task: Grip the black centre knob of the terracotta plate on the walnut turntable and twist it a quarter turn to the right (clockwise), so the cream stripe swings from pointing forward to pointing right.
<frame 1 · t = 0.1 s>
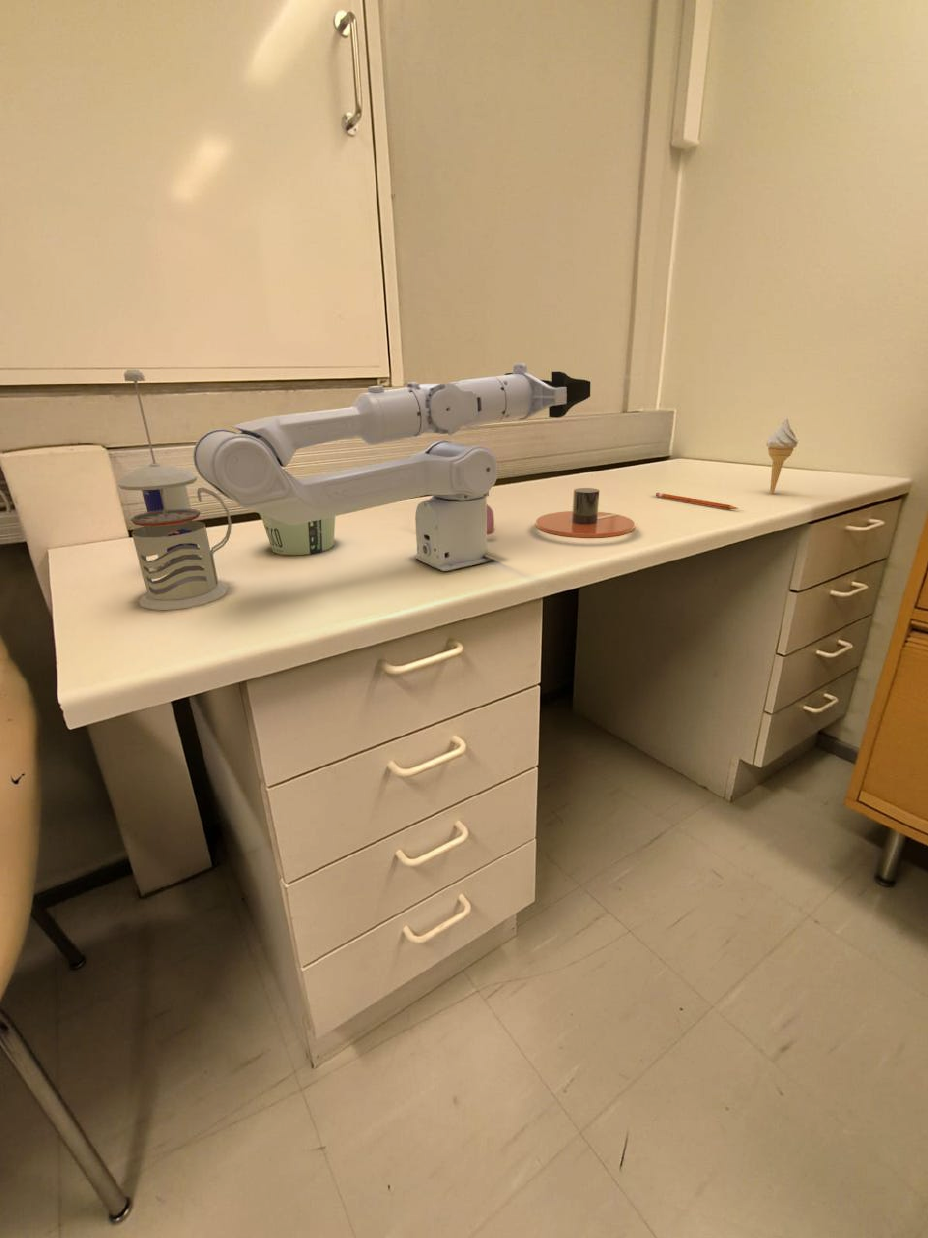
hand: (569, 388, 81), 22 cm above the table, tool horizontal, fingers open, 7 cm apart
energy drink: (182, 565, 80), on the table
ice cream cone: (771, 494, 117), on the table
video game controller: (463, 537, 91), on the table
pencil: (695, 503, 109), on the table
food container: (303, 547, 87), on the table
french press: (193, 595, 69), on the table
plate: (585, 507, 90), point 4 cm above the table, hinge at 0.0°
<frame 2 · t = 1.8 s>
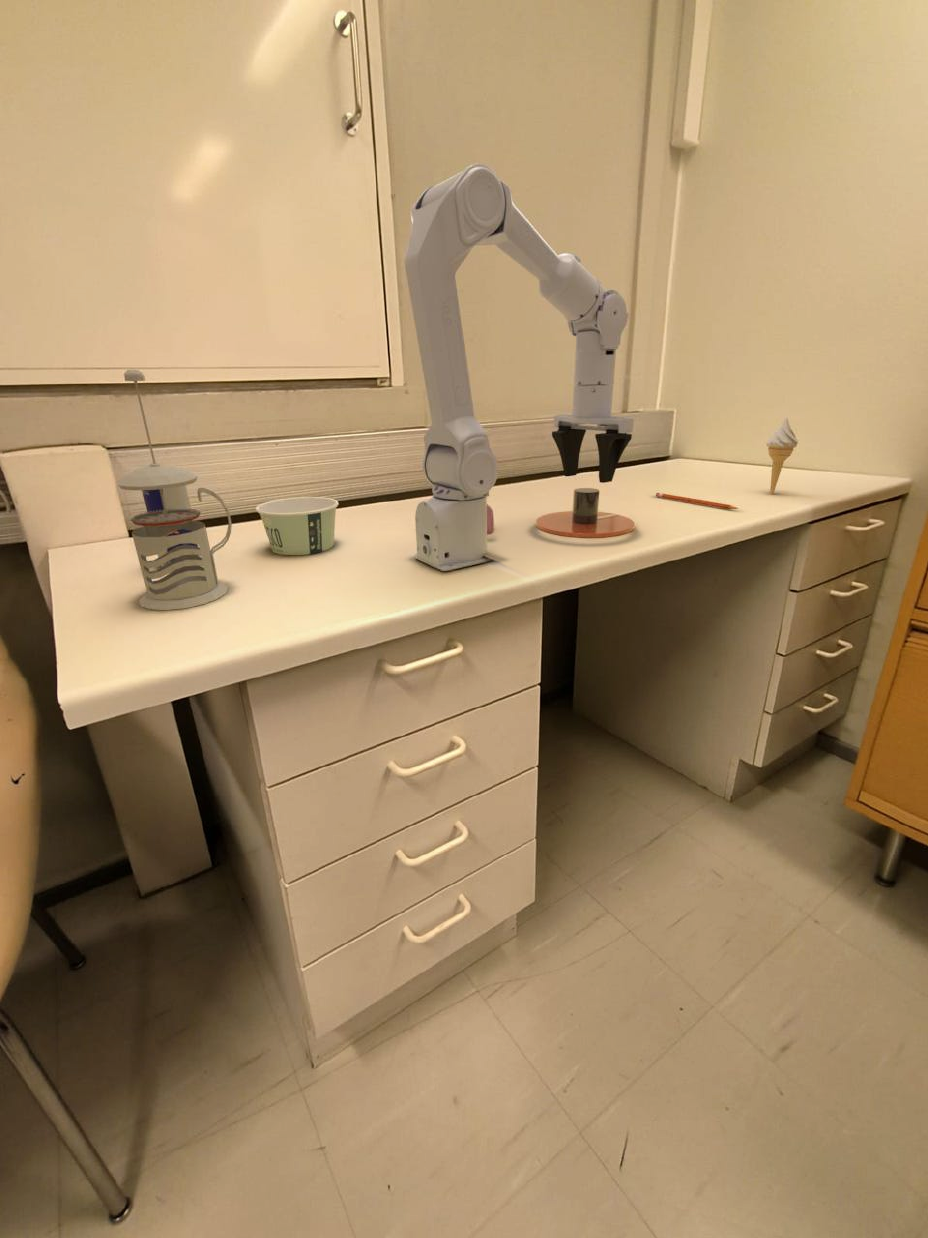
hand: (587, 478, 88), 8 cm above the table, tool pointing down, fingers open, 7 cm apart
nothing on the table moved.
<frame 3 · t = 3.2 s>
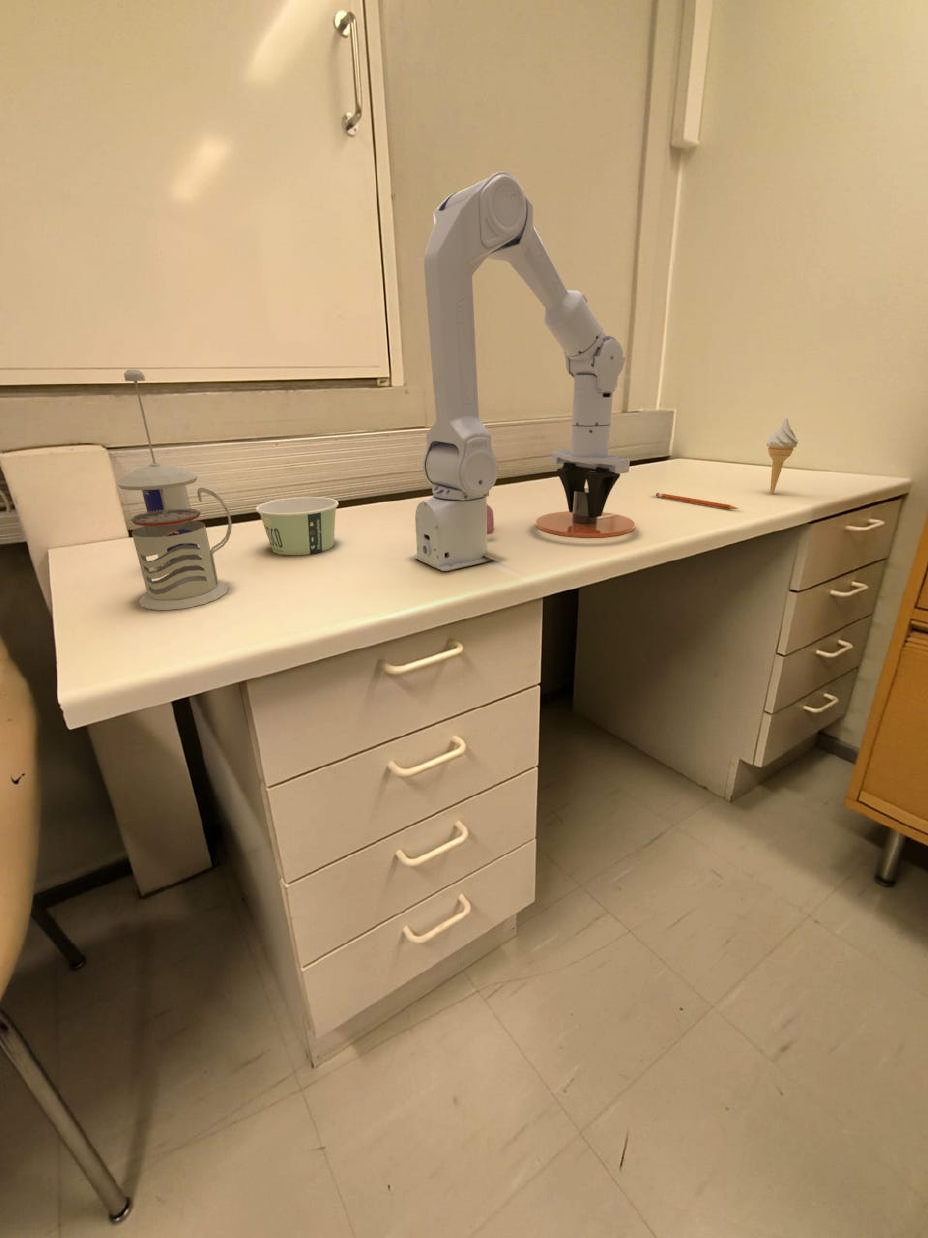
hand: (585, 514, 91), 3 cm above the table, tool pointing down, fingers closed on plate, 4 cm apart
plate: (585, 507, 90), point 4 cm above the table, hinge at 0.0°, touching gripper
everything else where it was.
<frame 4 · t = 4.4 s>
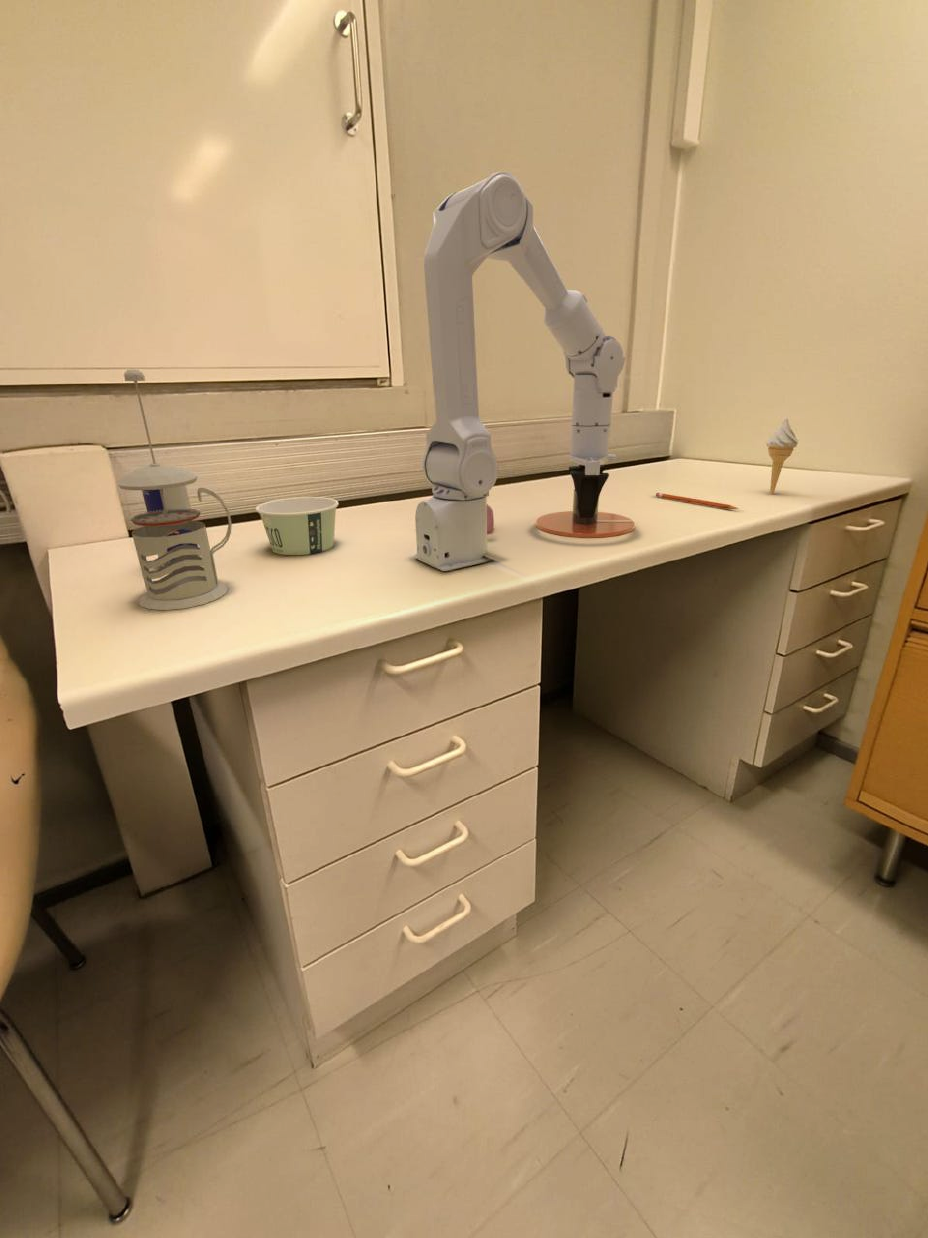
hand: (585, 514, 91), 3 cm above the table, tool pointing down, fingers closed on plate, 4 cm apart
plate: (585, 507, 90), point 4 cm above the table, hinge at -39.8°, touching gripper
everything else where it was.
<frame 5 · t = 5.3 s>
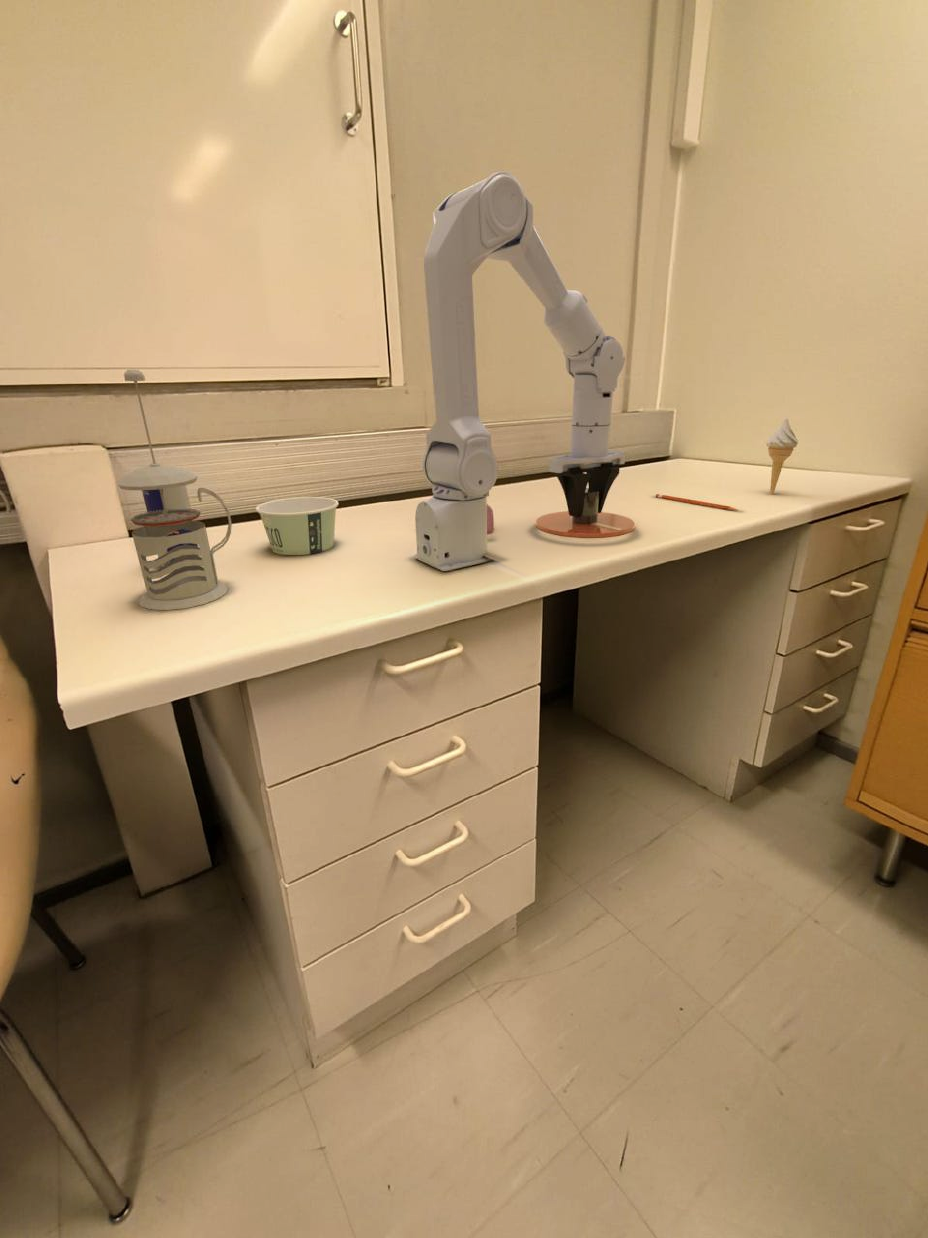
hand: (585, 514, 91), 3 cm above the table, tool pointing down, fingers closed on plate, 4 cm apart
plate: (585, 507, 90), point 4 cm above the table, hinge at -89.4°, touching gripper
everything else where it was.
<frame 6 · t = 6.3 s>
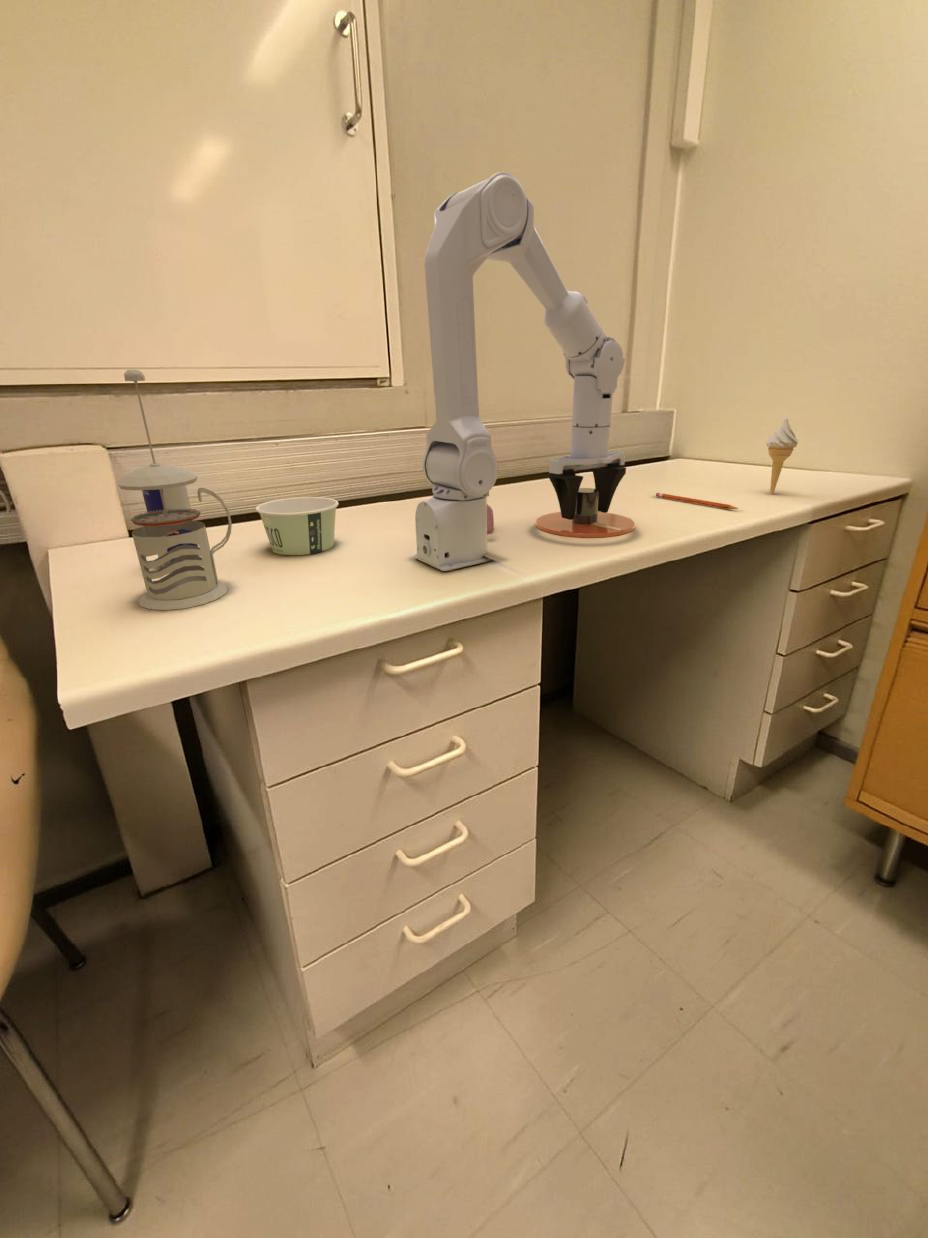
hand: (585, 514, 91), 3 cm above the table, tool pointing down, fingers open, 7 cm apart
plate: (585, 507, 90), point 4 cm above the table, hinge at -89.6°
everything else where it was.
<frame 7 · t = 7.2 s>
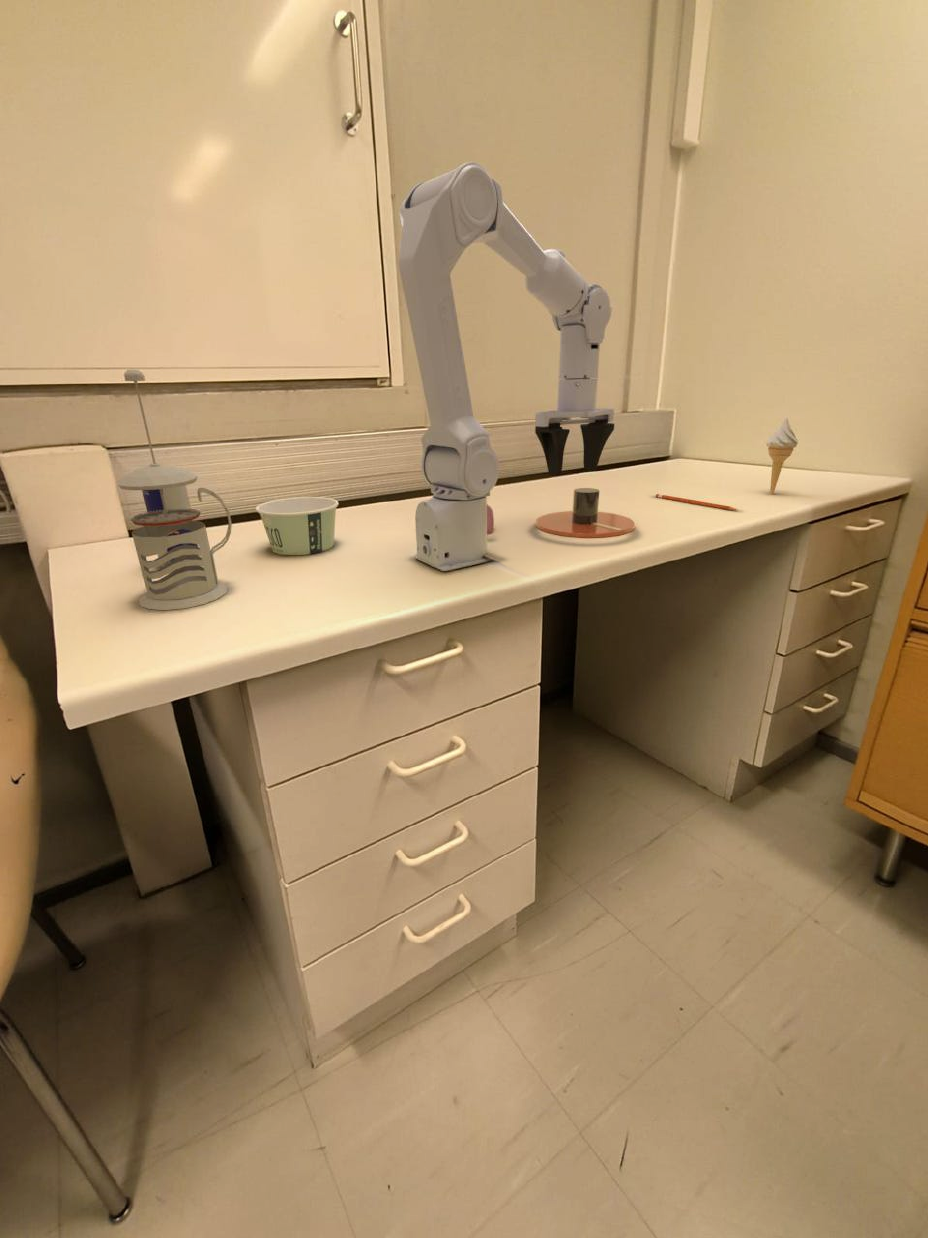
hand: (572, 472, 89), 9 cm above the table, tool pointing down, fingers open, 7 cm apart
nothing on the table moved.
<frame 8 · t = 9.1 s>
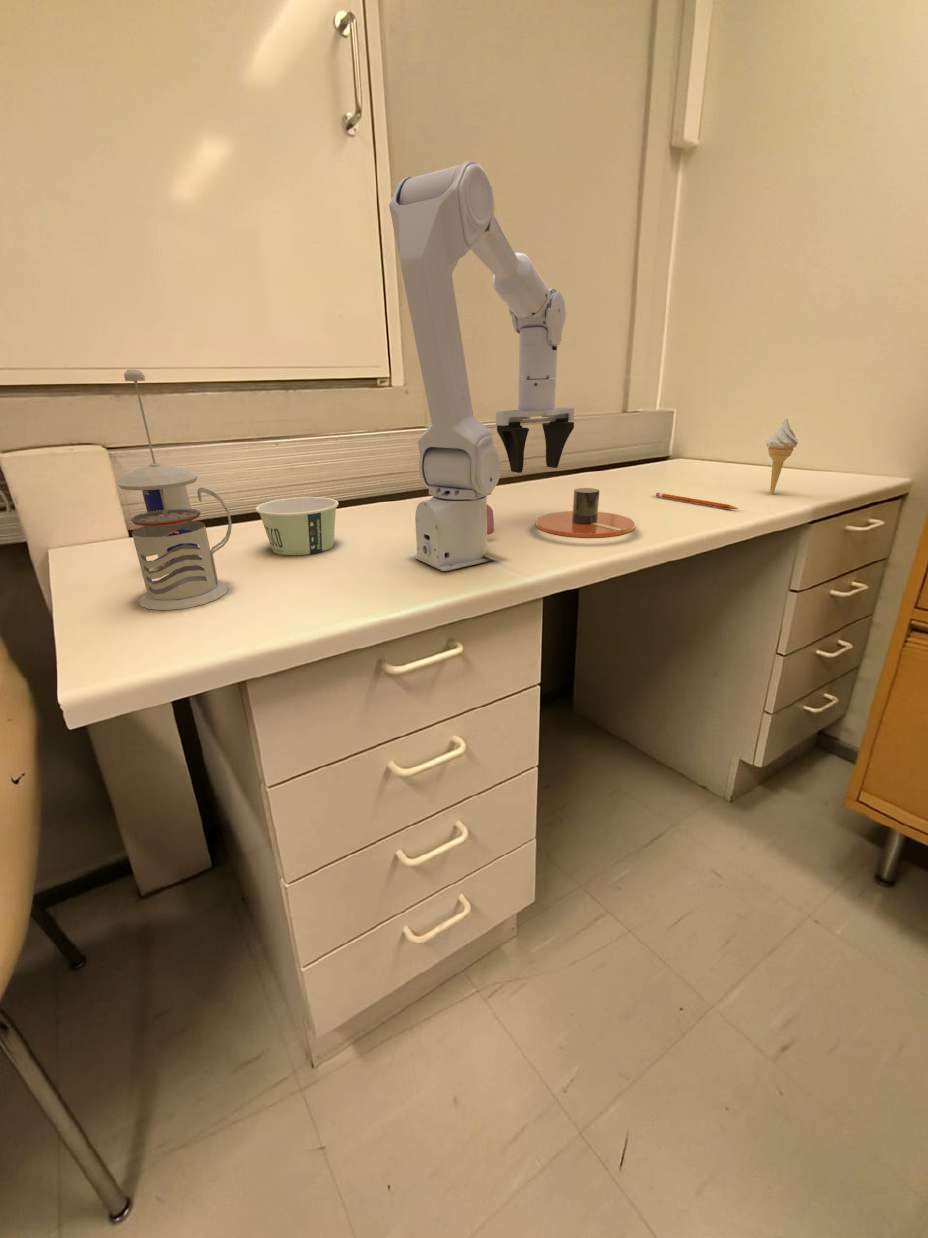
hand: (534, 469, 92), 9 cm above the table, tool pointing down, fingers open, 7 cm apart
nothing on the table moved.
at the end: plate at -90° (first picture: +0°) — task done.
